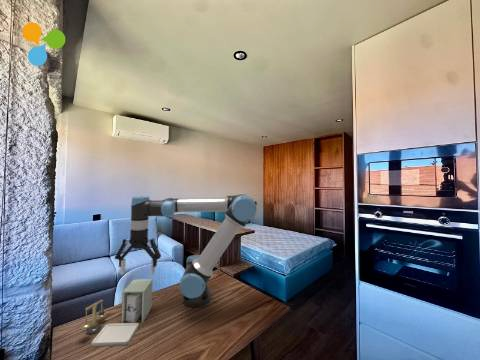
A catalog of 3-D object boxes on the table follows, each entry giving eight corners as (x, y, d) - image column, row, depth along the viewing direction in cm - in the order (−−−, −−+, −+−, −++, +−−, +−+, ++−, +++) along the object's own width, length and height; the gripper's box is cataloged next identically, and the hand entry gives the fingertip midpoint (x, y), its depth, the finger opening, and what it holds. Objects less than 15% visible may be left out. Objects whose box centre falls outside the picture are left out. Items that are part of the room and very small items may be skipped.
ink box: (138, 310, 100) (139, 286, 100) (147, 311, 99) (148, 287, 99) (125, 321, 92) (126, 295, 92) (134, 323, 91) (135, 296, 91)
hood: (151, 307, 102) (152, 279, 103) (142, 322, 91) (144, 291, 92) (132, 307, 102) (133, 279, 102) (121, 323, 91) (122, 291, 91)
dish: (138, 326, 89) (139, 322, 89) (127, 345, 79) (127, 341, 79) (106, 327, 88) (106, 323, 88) (90, 346, 77) (91, 342, 78)
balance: (88, 343, 79) (89, 311, 79) (75, 343, 78) (76, 311, 79) (109, 318, 93) (110, 291, 93) (98, 319, 93) (99, 291, 93)
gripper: (168, 227, 101) (167, 270, 100) (116, 226, 99) (114, 270, 98) (164, 230, 93) (162, 277, 93) (107, 230, 91) (105, 277, 91)
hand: (137, 273), depth 96 cm, fingers open, 13 cm apart
